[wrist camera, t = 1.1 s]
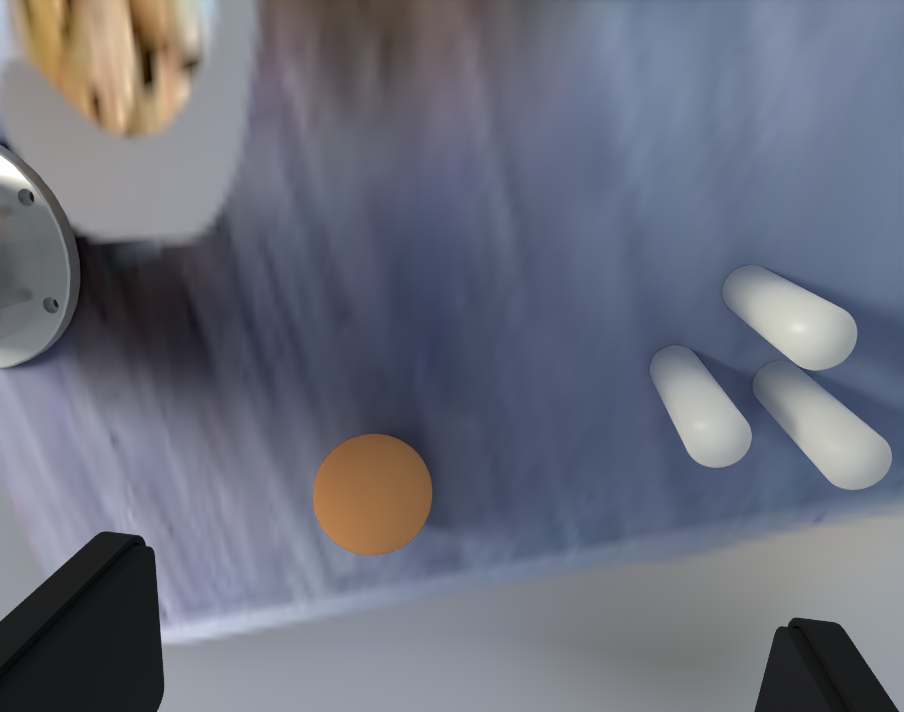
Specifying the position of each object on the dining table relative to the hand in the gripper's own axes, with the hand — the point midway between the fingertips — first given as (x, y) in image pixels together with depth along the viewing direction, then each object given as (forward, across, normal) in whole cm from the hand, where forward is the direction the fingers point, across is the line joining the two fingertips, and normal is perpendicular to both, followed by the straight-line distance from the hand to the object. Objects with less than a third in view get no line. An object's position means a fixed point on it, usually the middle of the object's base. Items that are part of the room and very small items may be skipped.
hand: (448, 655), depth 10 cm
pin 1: (+24, -12, -2) cm, 27 cm away
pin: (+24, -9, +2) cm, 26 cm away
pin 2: (+24, -14, +3) cm, 28 cm away
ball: (+22, +6, +10) cm, 24 cm away
